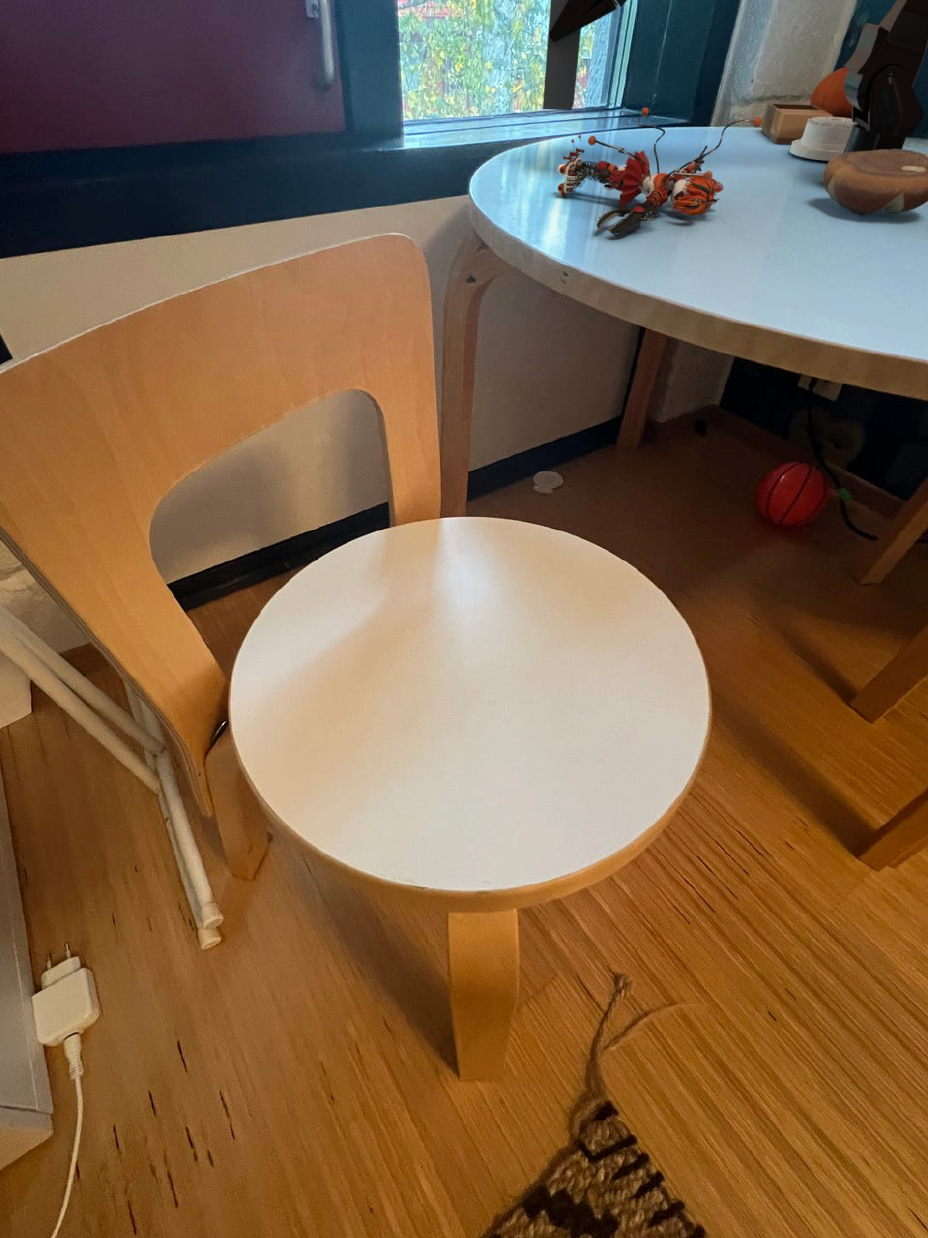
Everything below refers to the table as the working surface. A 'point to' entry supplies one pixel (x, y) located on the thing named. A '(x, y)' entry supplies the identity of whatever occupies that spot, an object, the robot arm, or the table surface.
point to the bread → (878, 180)
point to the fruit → (832, 95)
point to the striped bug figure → (644, 183)
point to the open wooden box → (789, 121)
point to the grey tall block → (560, 65)
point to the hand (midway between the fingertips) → (552, 36)
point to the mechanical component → (823, 138)
